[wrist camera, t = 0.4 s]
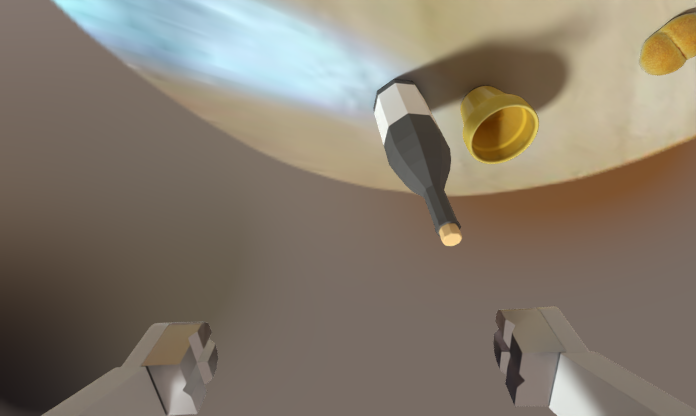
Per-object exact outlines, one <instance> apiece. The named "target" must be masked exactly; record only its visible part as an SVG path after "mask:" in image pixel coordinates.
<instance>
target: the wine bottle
mask: <svg viewBox="0 0 696 416" xmlns="http://www.w3.org/2000/svg"><path fill="white" fill-rule="evenodd" d="M374 114H375V117H376V121H377V124H378V128H379V131H380V134H381V138H382V141H383V145H384V148H385V151H386V155H387V158H388V162H389V165H390V166H391V168H392V169H393V170H394V172H395V173H396V174H397V175H398V177H399V178H400V179H401V180H402V181H403V182H404V184H405V185H406V186H407V187H408V188H409V189H410V190H412V191H413V192H414V193H416V194H418V195H420V196H422V197H424V198H425V201H426V204H427V206H428V209H429V212H430V214H431V217H432V220H433V223H434V225H435V231H436V233H437V234H438V235H439V236H440V237H441V239H442V242H443V243H444V244H445V245H446V246H454V245H456V244H458V243H459V242H460V241H461V239H462V235H461V232H460V228H461V226H460V224H459V222H458V221H457V219H456V217H455V214H454V212H453V210H452V207H451V205H450V203H449V201H448V198H447V196H446V194H445V191H444V188H445V184H446V181H447V178H448V174H449V171H450V164H451V155H450V148H449V146H448V144H447V143H446V141H445V139H444V137H443V135H442V133H441V131H440V129H439V127H438V125H437V123H436V121H435V119H434V117H433V115H432V113H431V111H430V109H429V107H428V106H427V104H426V102H425V100H424V98H423V96H422V95H421V93H420V92H419V90H418V89H417V87H416V86H415V84H414V83H413V82H412V81H405V80H396V79H393V80H392V81H390V82H389V83H388V84H386V85H385V86H383V87H382V88H381V89H379V90H378V91H377V95H376V99H375V104H374Z"/></svg>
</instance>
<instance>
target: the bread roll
mask: <svg viewBox="0 0 696 416" xmlns="http://www.w3.org/2000/svg"><path fill="white" fill-rule="evenodd" d="M694 56H696V13H690V14H684V15H681V16H678V17H676V18H674V19H672V20H671V21H670V22H668V23H667V24H666V25H664V26H663V27H662V28H661V29H660V30H659V31H657V32H655V33H654V34H653V35H651V36H650V37H649V38H648V39H647V40H646V41H645V43H644V44H643V46H642V50H641V54H640V59H639V65H640V67H641V69H642V70H644V71H645V72H646V73H648V74H651V75H665V74H669V73H672V72H674V71H676V70H678V69H679V68H680V67H682V66H683V65H684V63H685V62H686V60H688V59H689V58H692V57H694Z"/></svg>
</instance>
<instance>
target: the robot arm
mask: <svg viewBox="0 0 696 416" xmlns="http://www.w3.org/2000/svg"><path fill="white" fill-rule="evenodd" d="M495 322H496V324H497V326H498V328H499V329H498V330H497V332H495V334H494V342H493V344H494V353H495V358H496V361H497V364H498V366H499V369H500V370H501V371H502V372H503V373H505V374H506V382H505V384H506V387H507V389H508V391H509V394H510V396H511V399H512V401H513V404H514V406H549V408H550V409H551V410H552V411H553V412H554V413H555V414H556V415H557V416H696V410H695V409H693V408H691V407H690V406H688V405H686V404H685V403H683V402H681V401H680V400H678V399H676V398H674V397H673V396H671V395H669V394H667V393H666V392H664V391H662V390H661V389H659V388H657V387H655V386H654V385H652V384H650V383H649V382H647V381H645V380H643V379H642V378H640V377H638V376H637V375H635V374H633V373H631V372H630V371H628V370H626V369H624V368H622V367H621V366H619V365H618V364H616V363H614V362H612V361H611V360H609V359H607V358H605V357H604V356H602V355H601V354H599V353H597V352H589V350H588V349H587V347H586V346H585V345H584V343H583V342H582V341H581V339H580V338H579V336H578V335H577V334H576V332H575V331H574V329H573V328H572V327H571V325H570V324H569V322H568V321H567V320H566V318H565V317H564V315H563V314H562V313H561V312H560V310H559V309H558V308H557V307H540V308H527V309H506V310H498V311H497V313H496V320H495ZM211 333H212V331H211V329H210V326H209V323H206V322H173V323H155V324H154V325H152V326H151V327H150V328H149V329H148V331H147V332H146V334H145V335H144V336H143V338H142V339H141V340H140V342H139V343H138V344H137V346H136V347H135V349H134V350H133V351H132V353H131V354H130V355H129V357H128V358H127V360H126V361H125V362H124V364H123V365H122V367H118V368H114V369H113V370H111V371H110V372H108V373H106V374H105V375H103V376H102V377H100V378H99V379H97V380H96V381H94V382H93V383H91V384H90V385H88V386H87V387H85V388H83V389H82V390H80V391H79V392H77V393H76V394H74V395H73V396H71V397H70V398H68V399H66V400H65V401H63V402H62V403H60V404H59V405H57V406H56V407H54V408H53V409H51V410H50V411H48V412H46V413H45V414H43V415H42V416H167V415H185V414H197V413H198V411H199V409H200V407H201V404H202V402H203V400H204V397H205V395H206V393H207V392H206V388H205V385H206V384H207V383H208V382H209V381H210V380H211V379H213V377H214V374H215V371H216V369H217V362H218V353H217V348H216V344H215V343H213V342H212V341H211V340H210V339H209V337H210V335H211Z"/></svg>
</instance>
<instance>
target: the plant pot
mask: <svg viewBox="0 0 696 416" xmlns="http://www.w3.org/2000/svg"><path fill="white" fill-rule="evenodd" d="M461 115H462V120H463V124H464V127H463V139H464V142H465V144H466V146H467V148H468V150H469V152H470V153H471V155H472V156H473V157H474V158H475V159H476V160H478V161H480V162H482V163H486V164H498V163H503V162H506V161H509V160H511V159H513V158H515V157H517V156H518V155H520V154H521V153H522V152H523V151H525V150H526V149H527V148H528V147H529V145H530V144H531V143H532V142H533V140H534V138H535V137H536V134H537V132H538V128H539V119H538V116H537V114H536V112H535V110H534V109H533V108H532V107H531V106H530V105H529V104H528V103H527V102H526V101H525V100H524V99H522V98H521V97H519V96H516V95H513V94H506V93H504V92H502V91H500V90H498V89H496V88H494V87H491V86H481V87H478V88H476V89H474V90H472V91H471V92H469V93H468V94H467V95H466V97H465V98H464V100H463V101H462V104H461Z"/></svg>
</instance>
